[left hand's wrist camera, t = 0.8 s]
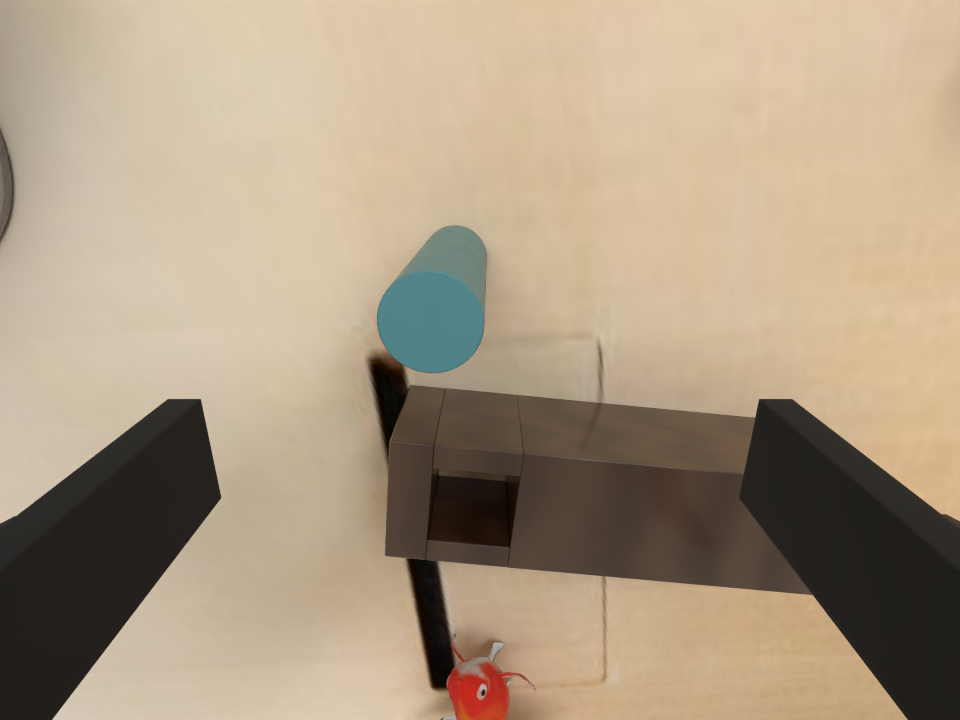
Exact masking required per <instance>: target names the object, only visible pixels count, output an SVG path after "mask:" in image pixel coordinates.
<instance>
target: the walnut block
mask: <svg viewBox="0 0 960 720" xmlns="http://www.w3.org/2000/svg"><path fill="white" fill-rule="evenodd" d="M754 422H755V418H750V417H739V416H729V415H718V414H708V413H697V412H687V411H676V410H666V409H656V408H645V407H635V406H624V405H614V404H603V403H593V402H582V401H572V400H561V399H551V398H541V397H530V396H520V395H509V394H499V393H488V392H478V391H467V390H457V389H447V388H446V389H444V388H434V387H423V386H413V385H411V386H410V387H409V390H408V393H407V395H406V398H405V401H404V404H403V406H402V409H401V412H400V415H399V417H398V420H397V423H396V425H395V428H394V431H393V434H392V436H391V439H390V445H389V469H388V493H387V517H386V541H385V556H390V557H401V558H413V559H426V560H433V561H444V562H456V563H467V564H478V565H489V566H500V567H509V568H520V569H531V570H542V571H553V572H564V573H575V574H586V575H597V576H608V577H619V578H631V579H642V580H653V581H664V582H675V583H686V584H697V585H708V586H719V587H730V588H741V589H752V590H763V591H774V592H785V593H797V594H808V595H812V593H811V592H810V591H809V589H808V588H807V587H806V585H805V584H804V583H803V581H802V580H801V579H800V577H799V576H798V575H797V574H796V572H795V571H794V570H793V568H792V567H791V566H790V564H789V563H788V562H787V560H786V559H785V558H784V557H783V555H782V554H781V553H780V551H779V550H778V549H777V547H776V546H775V545H774V543H773V542H772V541H771V539H770V538H769V537H768V536H767V534H766V533H765V532H764V530H763V529H762V528H761V526H760V525H759V524H758V522H757V521H756V520H755V518H754V517H753V516H752V515H751V513H750V512H749V511H748V509H747V508H746V507H745V505H744V504H743V503H742V501H741V500H740V499H739V494H740V489H741V485H742V480H743V475H744V470H745V465H746V461H747V456H748V451H749V446H750V441H751V437H752V432H753V427H754Z"/></svg>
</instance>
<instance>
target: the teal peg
mask: <svg viewBox="0 0 960 720" xmlns="http://www.w3.org/2000/svg"><path fill="white" fill-rule="evenodd" d="M486 265H487V254H486V249H485V246H484V244H483V242H482V240H481V239H480V238H479V236H478V235H477V234H476V233H474V232H473V231H472V230H470V229H468V228H465V227H462V226H447V227H444V228H442V229H440V230H438V231H437V232H435V233H434V234H433V235H432V236H431V238H430V239H429V240H428V241H427V242H426V244H425V245H424V246H423V247H422V248H421V250H420V251H419V252H418V253H417V254H416V256H415V257H414V258H413V259H412V260H411V262H410V263H409V264H408V265H407V266H406V268H405V269H404V270H403V271H402V272H401V274H400V275H399V276H398V277H397V279H396V280H395V281H394V282H393V283H392V285H391V286H390V287H389V288H388V289H387V291H386V292H385V294H384V295H383V297H382V299H381V302H380V304H379V308H378V313H377V326H378V331H379V335H380V338H381V340H382V342H383V344H384V346H385V348H386V349H387V350H388V352H389V353H390V354H391V355H392V356H393V357H394V358H395V359H396V360H397V361H398V362H400V363H401V364H403V365H404V366H406V367H408V368H410V369H413V370H416V371H419V372H424V373H441V372H446V371H449V370H452V369H454V368H457V367H459V366H460V365H462V364H463V363H465V362H466V361H467V360H468V359H469V358H470V357H471V356H472V355H473V354H474V353H475V351H476V350H477V348H478V346H479V344H480V342H481V339H482V336H483V332H484V317H485V291H486Z"/></svg>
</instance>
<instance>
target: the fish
mask: <svg viewBox="0 0 960 720" xmlns="http://www.w3.org/2000/svg"><path fill="white" fill-rule="evenodd" d="M455 636H456V634H454V635H453V636H452V643H451V646H452V649H453V650H454V652H455V653H456V654H457V655H458V657H459V658H460V659H461V660H462V661H463V662H462V663H460V664H458V665H456V666H455V667H454V669H453V670H452V672H451V674H450V675H449V677H448V679H447V688H448V691H449V694H450V698H451V700H452V702H453V703H454V710H455V715H452V716H447V717H443V718H442V719H441V720H506V717H507V713H508V707H509V691H508V687H509V686H510V684H511V682H512V680H511V681H510V682H508V683H506V680H505V678H504V677H509V676H513V675H517V676H520V677H522V678H523V679H524V680H526V681H528V682H529V684H530V685H531V686H532V688H533V689H534V690H535V691H536V689H535V687H534V685H533V684H532V683H531V682H530V681H529V680H528V679H527V678H526V677H525V676H523V675H521V674H518V673H510V672H506V673H502V672H501V671H500V669H499V668H498V666H497V665H496V664H495V663H494V662H493V661H494V658H495V656H496V654H497V653H498V651H499V650H500V649H501V648H502V647H503V643H496V642H495V643H494V644H493V646H492V650H491V654H490V656H489V659H488V658H487V657H476V658H471V659H469V660H465V661H464V660H463V658H462V657H461V655H460V653H459V651H458V649H457V647H456V645H455V643H454V640H453V639H454V638H455Z"/></svg>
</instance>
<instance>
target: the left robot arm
mask: <svg viewBox="0 0 960 720" xmlns="http://www.w3.org/2000/svg"><path fill="white" fill-rule="evenodd" d="M11 199H12V179H11V170H10V164H9V160H8V155H7V151H6V148H5V145H4V142H3V139H2V136H1V134H0V237H1V235H2V233H3V230H4V228H5V226H6V223H7V220H8V217H9V213H10V208H11ZM220 499H221V494H220V489H219V485H218V480H217V475H216V470H215V465H214V461H213V456H212V451H211V446H210V441H209V437H208V432H207V427H206V422H205V417H204V413H203V408H202V403H201V399H168V400H166V401H165V402H164V403H162V404H161V405H160V406H159V407H157V408H156V409H155V410H153V411H152V412H151V413H150V414H148V415H147V416H146V417H144V418H143V419H142V420H140V421H139V422H138V423H137V424H135V425H134V426H133V427H131V428H130V429H129V430H127V431H126V432H125V433H124V434H122V435H121V436H120V437H118V438H117V439H116V440H114V441H113V442H112V443H111V444H109V445H108V446H107V447H105V448H104V449H103V450H102V451H100V452H99V453H98V454H96V455H95V456H94V457H92V458H91V459H90V460H89V461H87V462H86V463H85V464H83V465H82V466H81V467H79V468H78V469H77V470H76V471H74V472H73V473H72V474H70V475H69V476H68V477H67V478H65V479H64V480H63V481H61V482H60V483H59V484H57V485H56V486H55V487H54V488H52V489H51V490H50V491H48V492H47V493H46V494H44V495H43V496H42V497H41V498H39V499H38V500H37V501H35V502H34V503H33V504H32V505H30V506H29V507H28V508H26V509H25V510H24V511H22V512H21V513H20V514H19V515H17V516H14V517H12V518H10V519H9V520H7V521H5V522H3V523H1V524H0V720H52V719H53V718H54V716H55V715H56V714H57V713H58V711H59V710H60V709H61V707H62V706H63V705H64V703H65V702H66V701H67V699H68V698H69V697H70V695H71V694H72V693H73V692H74V690H75V689H76V688H77V686H78V685H79V684H80V682H81V681H82V680H83V678H84V677H85V676H86V675H87V673H88V672H89V671H90V669H91V668H92V667H93V665H94V664H95V663H96V661H97V660H98V659H99V657H100V656H101V655H102V654H103V652H104V651H105V650H106V648H107V647H108V646H109V644H110V643H111V642H112V640H113V639H114V638H115V636H116V635H117V634H118V633H119V631H120V630H121V629H122V627H123V626H124V625H125V623H126V622H127V621H128V619H129V618H130V617H131V616H132V614H133V613H134V612H135V610H136V609H137V608H138V606H139V605H140V604H141V602H142V601H143V600H144V598H145V597H146V596H147V595H148V593H149V592H150V591H151V589H152V588H153V587H154V585H155V584H156V583H157V581H158V580H159V579H160V577H161V576H162V575H163V574H164V572H165V571H166V570H167V568H168V567H169V566H170V564H171V563H172V562H173V560H174V559H175V558H176V557H177V555H178V554H179V553H180V551H181V550H182V549H183V547H184V546H185V545H186V543H187V542H188V541H189V539H190V538H191V537H192V536H193V534H194V533H195V532H196V530H197V529H198V528H199V526H200V525H201V524H202V522H203V521H204V520H205V518H206V517H207V516H208V515H209V513H210V512H211V511H212V509H213V508H214V507H215V505H216V504H217V503H218V501H219V500H220ZM739 499H740V500H741V501H742V503H743V504H744V505H745V507H746V508H747V509H748V511H749V512H750V513H751V515H752V516H753V517H754V518H755V520H756V521H757V522H758V524H759V525H760V526H761V528H762V529H763V530H764V532H765V533H766V534H767V536H768V537H769V538H770V539H771V541H772V542H773V543H774V545H775V546H776V547H777V549H778V550H779V551H780V553H781V554H782V555H783V557H784V558H785V559H786V560H787V562H788V563H789V564H790V566H791V567H792V568H793V570H794V571H795V572H796V574H797V575H798V576H799V577H800V579H801V580H802V581H803V583H804V584H805V585H806V587H807V588H808V589H809V591H810V592H811V593H812V595H813V596H814V597H815V598H816V600H817V601H818V602H819V604H820V605H821V606H822V608H823V609H824V610H825V612H826V613H827V614H828V616H829V617H830V618H831V619H832V621H833V622H834V623H835V625H836V626H837V627H838V629H839V630H840V631H841V633H842V634H843V635H844V636H845V638H846V639H847V640H848V642H849V643H850V644H851V646H852V647H853V648H854V650H855V651H856V652H857V654H858V655H859V656H860V657H861V659H862V660H863V661H864V663H865V664H866V665H867V667H868V668H869V669H870V671H871V672H872V673H873V675H874V676H875V677H876V678H877V680H878V681H879V682H880V684H881V685H882V686H883V688H884V689H885V690H886V692H887V693H888V694H889V695H890V697H891V698H892V699H893V701H894V702H895V703H896V705H897V706H898V707H899V709H900V710H901V711H902V713H903V714H904V715H905V716H906V718H907V719H908V720H960V521H958V520H956V519H954V518H952V517H950V516H948V515H946V514H940V513H939V512H938V511H936V510H935V509H934V508H932V507H931V506H930V505H928V504H927V503H926V502H925V501H923V500H922V499H921V498H919V497H918V496H917V495H916V494H914V493H913V492H912V491H910V490H909V489H908V488H906V487H905V486H904V485H903V484H901V483H900V482H899V481H897V480H896V479H895V478H893V477H892V476H891V475H890V474H888V473H887V472H886V471H884V470H883V469H882V468H881V467H879V466H878V465H877V464H875V463H874V462H873V461H871V460H870V459H869V458H868V457H866V456H865V455H864V454H862V453H861V452H860V451H858V450H857V449H856V448H855V447H853V446H852V445H851V444H849V443H848V442H847V441H846V440H844V439H843V438H842V437H840V436H839V435H838V434H836V433H835V432H834V431H833V430H831V429H830V428H829V427H827V426H826V425H825V424H823V423H822V422H821V421H820V420H818V419H817V418H816V417H814V416H813V415H812V414H810V413H809V412H808V411H807V410H805V409H804V408H803V407H801V406H800V405H799V404H798V403H796V402H795V401H794V400H792V399H759V403H758V408H757V413H756V417H755V422H754V427H753V432H752V437H751V441H750V446H749V451H748V456H747V461H746V465H745V470H744V475H743V480H742V485H741V489H740V494H739Z"/></svg>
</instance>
